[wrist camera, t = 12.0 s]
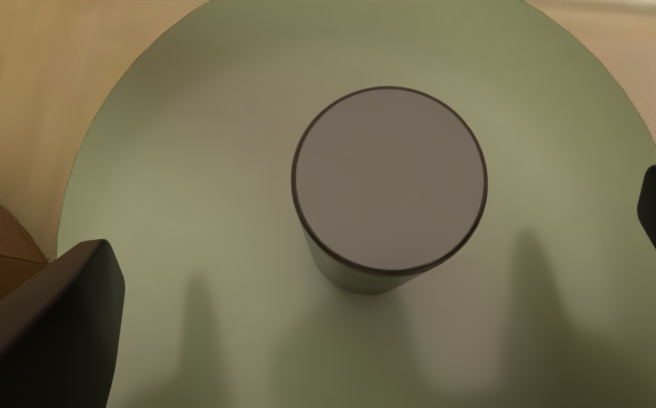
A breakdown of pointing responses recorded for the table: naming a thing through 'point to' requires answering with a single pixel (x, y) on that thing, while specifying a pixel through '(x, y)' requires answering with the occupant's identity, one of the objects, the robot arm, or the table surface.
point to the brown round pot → (16, 255)
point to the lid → (372, 211)
